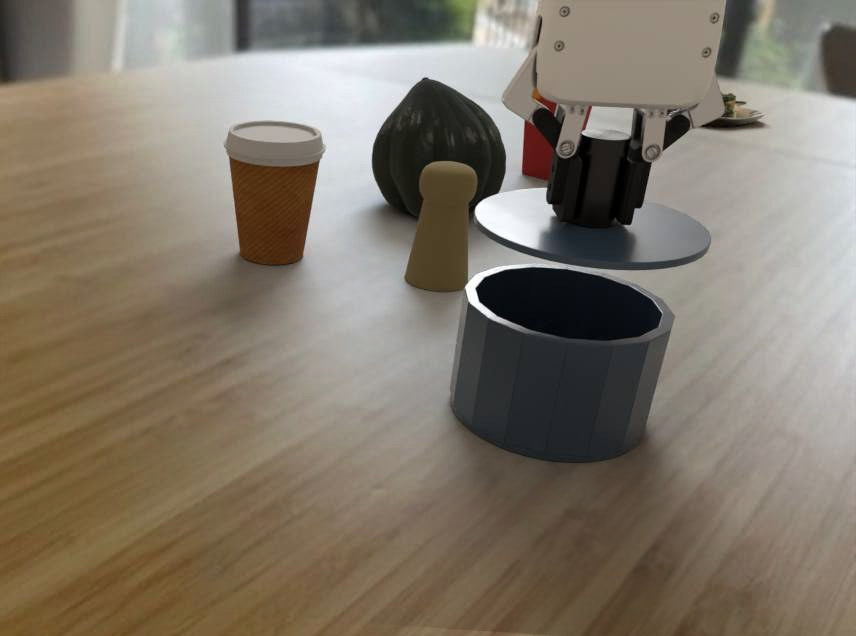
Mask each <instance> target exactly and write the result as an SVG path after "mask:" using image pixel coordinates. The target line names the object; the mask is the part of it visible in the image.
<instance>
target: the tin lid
mask: <svg viewBox="0 0 856 636" xmlns="http://www.w3.org/2000/svg"><path fill="white" fill-rule="evenodd" d="M630 143H631V134H628V133H626V132H623V131H619V130H615V129H607V128H588V129H585V130H584V131H582V132H581V135H580V141H579V146H578V147H579V154H578V156H579V157H580V159H581V160H582V161H583V166H582V172H581V177H580V183H579V188H578V194H577V200H576V205H575V211H574V216H573V220H570V221H569V222H560V221H559V219H558V217H557V216H556V214H555V212H554V211H553V208H552V204H548V203H547V201H546V192H547V187H535V188H522V189H521V188H520V189H514V190H508V191H503V192H499V193H498V194H496V195H493V196H490V197H488V198H486V199H484V200H482V201H481V202H480V203H479V204H478V205H477V206H476V208H475V211H474V212H473V223H474V225H475V227H476V228H477V230H478V231H479V232H480V233H482V235H484V236H485V237H487V238H488V239H489V240H491V241H493V242H495V243H497V244H498V245H501V246H502V247H504V248H507V249H510V250H512V251H514V252H518V253H521V254H524V255H526V256H530V257H533V258H537V259H541V260H545V261H549V262H553V263H557V264H561V265H567V266H573V267H579V268H587V269H598V270H610V271H653V270H664V269H671V268H672V269H673V268H677V267H683V266H685V265H689V264H692V263H693V262H696V261H698V260H700V259H701V258H703V257H704V256H705V255H706V254H707V253H708V252H709V249H710V247H711V244H712V235H711V233H710V231H709V230H708V229H707V228H706V226H705V225H703V224H702V223H701V222H700V221H699V220H697V219H696V218H694V217H692V216H690V215H688V214H686V213H684V212H682V211H680V210H677V209H675V208H672V207H670V206H666V205H664V204H662V203H657V202H654V201H650V200H647V199H644V202H643V205H642V207H641V208H640V209H637V208H635V211H634V216H633V220H632V224H631V225H621V223H619V222H618V221H617V220H616V219H615V216H616V211H617V207H618V202H619V197H620V192H621V187H622V182H623V177H624V172H625V167H626V162H627V157H628V152H629V148H630Z"/></svg>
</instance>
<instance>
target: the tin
mask: <svg viewBox="0 0 856 636" xmlns="http://www.w3.org/2000/svg"><path fill="white" fill-rule="evenodd" d="M675 318H676V315H675V313H674V312H673V311H672V310H671V308H670V307H669V306H668V304H667V303H666V302H665V300H664V299H663V298H661V297H659V296H658V295H657V294H655V293H653V292H651V291H650V290H647V289H646V288H644V287H642V286H641V285H639V284H637V283H634V282H631V281H629V280H626V279H623V278H621V277H617V276H614V275H611V274H608V273H606V272H601V271H596V270H593V269H588V268H587V269H586V268H583V267H578V266H573V265H566V264H550V263H549V264H548V263H532V262H530V263H521V264H509V265H501V266H500V265H499V266H495V267H492V268H490V269H486V270H484V271H481V272H477V273H476V274H474V275H473V276H472V278H470V280H468V283H467V284H466V285H465V287H464V288H463V294H462V300H461V306H460V313H459V321H458V329H457V334H456V336H457V337H456V342H455V349H454V357H453V362H452V363H453V364H452V371H451V377H450V383H449V391H450V397H449V398H450V401H449V402H450V406H451V410H452V411H453V413H454V415H455V416H456V418H457V420H459V422H461V424H462V425H463V426H464V427H466V428H467V429H468V430H469V431H470V432H472V433H473V434H475V435H476V436H477V437H479V438H481V439H483V440H484V441H486V442H488V443H490V444H493V445H494V446H496V447H499V448H502V449H503V450H507V451H509V452H512V453H515V454H519V455H522V456H525V457H530V458H534V459H539V460H544V461H545V460H546V461H552V462H561V463H592V462H599V461H605V460H610V459H614V458H616V457H619V456H623V455H624V454H626V453H628V452H630V451H632V449H634V448H635V447H636V446H637V445H638V444H639V443H640V442H641V440H642V439H643V437H644V434H645V429H646V427H647V423H648V419H649V415H650V410H651V407H652V404H653V400H654V397H655V392H656V388H657V385H658V382H659V377H660V374H661V370H662V366H663V362H664V359H665V355H666V351H667V347H668V344H669V340H670V336H671V333H672V329H673V325H674V322H675Z"/></svg>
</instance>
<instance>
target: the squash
mask: <svg viewBox="0 0 856 636" xmlns="http://www.w3.org/2000/svg"><path fill="white" fill-rule="evenodd" d="M375 136H376V137H375V139H374V142H373V145H372V153H371V170H372V175H373V178H374V181H375V183H376V185H377V187H378V189H379V192H380V193H381V195H382V197H383V198H384V200H385V201H386V203H387V204H388V205H389V206H390V207H391V208H393V209H395V210H396V211H398V212H402V213H410V214H411V215H412V216H414V217H417V218H419V216H420V212H421V208H422V204H423V200H424V198H423V196H422V194H421V193H420V188H419V181H420V176H421V174H422V171H423V169H424V168H425V167H426V166H427V165H429V164H431V163H433V162H439V161H452V162H458V163H462V164H465V165H468V166H470V167H471V168H472V169H473V170H474V171H475V173H476V175H477V182H478V183H477V190H476V193H475V195H474V198H473V199H472V200H471V201H470V202H469V203H468V214H474V211H475V208H476V206H477V205H478V204H479V203H480V202H481V201H482V200H484V199H486V198H488V197H490V196H493V195H496V194H499V193H500V192H501V189H502V187H503V183H504V180H505V176H506V170H507V153H506V148H505V144H504V141H503V139H502V135H501V132H500V129H499V127H498V126H497V124H496V122H495V121H494V120H493V118H492V116H491V115H490V114H489V113H488V112H487V111H486V110H485V109H484V108H483V107H482V106H481V105H480V104H478V103H477V102H475V101H474V100H472V99H471V98H469V97H468V96H466V95H464V94H463V93H462V92H460V91H458V90H456V89H455V88H453V87H451V86H449V85H447V84H445V83H443V82H441V81H439V80H436V79H431V78H429V77H426V76H424V77H422V78H421V80H419V81H418V82H416V83H415V84H414V85H413V86H412V87H411V88H410V89H409V91H408V92H407V93H406V94H405V96H404V97H403V98H402V100H401V101H400V102H399V103H398V104H397V106H396V107H395V108H394V109H393V111H392V112H391V113H390V114H389V115H388V116H387V118H386V119H385V120H384V121H383V123H382V124H381V126H380V128H379V130H378V132H377V134H376V135H375Z"/></svg>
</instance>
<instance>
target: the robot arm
mask: <svg viewBox="0 0 856 636" xmlns="http://www.w3.org/2000/svg"><path fill="white" fill-rule="evenodd" d="M536 6H537V7H536V11H535V15H534V21H533V26H532V31H531V36H530V41H529V48H528V52H527V56H526V58H525V59H524V61H523V63H522V64H521V66H519V68H518V70H517V72H516V73H515V75H514V76H513V78H512V79H511V81H510V82H509V83H508V85H507V86H506V88H505V89H504V91H503V92H502V94H501V102H502V104H503V105H504V107H505V108H506V109H507V110H509V111H510V112H512V113H513V114H515V115H516V116H518V117H520V118H521V119H522V120H524V121H525V120H526V121H528V122H529V123H531V124H532V125H534V126H535V127H536V128H537V129H538V130H539V131H540V133H541V134H542V135H543V136H544V138H545V139H546V140H547V141H548V143H549V144H550V145H551V146H552V148H553V154H552V161H551V167H550V173H549V179H548V180H547V185H546V188H547V192H546V201H547V203H548V204H552V208H553V211H554V212H555V214H556V216H557V217H558V219H559V221H560V222H569V221H570V220H573V216H574V211H575V205H576V200H577V194H578V188H579V183H580V177H581V172H582V166H583V161H582V160H581V159H580V157H579V156H578V154H579V147H578V143H579V139H580V135H581V132H582V128H583V125H584V121H585V118H586V114H587V110H588V107H589V106H592V107H600V108H601V107H602V108H620V109H633V110H632V119H631V130H630V136H631V143H630V148H629V152H628V157H627V162H626V167H625V172H624V177H623V182H622V187H621V192H620V197H619V202H618V207H617V211H616V216H615V219H616V220H617V221H618V222H619V223H621V225H631V224H632V220H633V216H634V211H635V208H637V209H640V208H641V207H642V205H643V202H644V200H645V196H646V191H647V188H648V183H649V178H650V174H651V169H652V166H653V165H652V164H653V163H654V162H656V161H658V160H659V159H660V158H661V157H662V154H663V152H664V151H666V150H667V149H668V148H669V147H671V146H672V145H673V144H675V143H676V142H677V141H679V140H680V139H681V138H682V137H683V136H685V135H686V134H687V133H688V132H689V131H691V130H696V129H698V128H700V127H703V126H702V125H704V124H707V123H709V122H711V121H713V120H716V119H718V118H720V117H721V116H722V115H723V114H724V112H725V106H724V102H723V98H722V95H721V92H722V91H721V87H720V85H719V81H718V80H719V79H718V77H717V74H716V70H715V69H716V64H717V59H718V55H719V49H720V45H721V38H722V31H723V25H724V20H725V12H726V6H727V0H538V1H537V5H536ZM535 88H537V89H538V92H539V94H540V95H541V96H542V97H543V98H545V99H547V100H549V101H551V102H554V103H557V107H556V110H555V114H554V115H553V113H552V112H551V111H550V110H549V109H548V108H547V107H546V106H545V105H543V104H541V103H540V102H538V101H537V100H535V99H534V98H533V92H534V90H535ZM667 109H678V110H672V111H669V112H667Z"/></svg>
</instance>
